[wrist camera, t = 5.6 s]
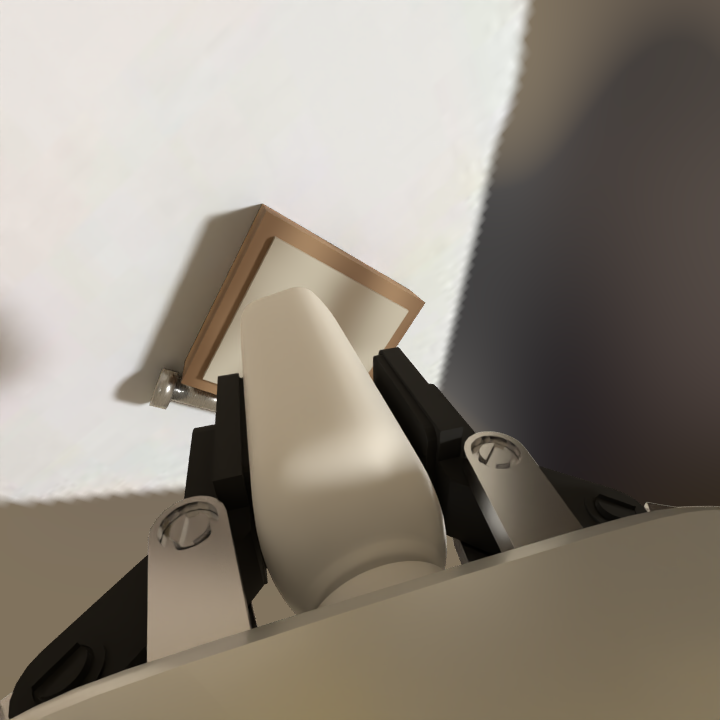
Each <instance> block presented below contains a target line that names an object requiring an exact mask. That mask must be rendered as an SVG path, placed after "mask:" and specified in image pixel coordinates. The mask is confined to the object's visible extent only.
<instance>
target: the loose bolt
mask: <svg viewBox="0 0 720 720" xmlns="http://www.w3.org/2000/svg"><path fill="white" fill-rule="evenodd" d="M178 375H179V373H178V372H174V371H171V370H167V369H164V368H163V369H162V371H161V374H160V376H159V379H158V381H157V384H156V387H155V389H154V392H153V395H152V398H151V402H150V406H153V407H158V408H162V409H166V408H167V407H168V405H169V402H170V400H172V401H176V402H180V403H184V404H187V405H191V406H195V407H199V408H203V409H207V410H211V411H215V412H216V399H217V395H216V394H212V393H209V392H206V391H203V390H200V389H197V388H194V387H191V386H188V385H185V384H182V383H181V380H182V379H180V378H178Z"/></svg>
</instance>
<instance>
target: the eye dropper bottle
mask: <svg viewBox="0 0 720 720" xmlns="http://www.w3.org/2000/svg"><path fill="white" fill-rule="evenodd" d="M240 335H241V352H242V368H243V383H244V398H245V412H246V426H247V440H248V454H249V466H250V478H251V491H252V502H253V509H254V517H255V524H256V530H257V535H258V539H259V543H260V547H261V551H262V554H263V557H264V560H265V563H266V566H267V569H268V571H269V573H270V575H271V577H272V580H273V582H274V583H275V585H276V587H277V589H278V590H279V592H280V594H281V595H282V597H283V599H284V600H285V601H286V603H287V604H288V605H289V607H290V608H291V609H292V610H293V612H294V613H295V614H296V615H298V614H302V613H305V612H308V611H311V610H315V609H318V608H321V607H324V606H327V605H331V604H334V603H337V602H340V601H344V600H347V599H350V598H353V597H357V596H360V595H363V594H367V593H370V592H373V591H376V590H380V589H383V588H386V587H390V586H393V585H396V584H399V583H403V582H406V581H409V580H413V579H416V578H419V577H422V576H426V575H429V574H432V573H436V572H439V571H442V570H445V565H446V555H447V539H446V530H445V523H444V518H443V514H442V510H441V506H440V503H439V500H438V497H437V494H436V492H435V489H434V487H433V485H432V482H431V480H430V478H429V476H428V474H427V472H426V470H425V469H424V467H423V465H422V463H421V461H420V459H419V458H418V456H417V454H416V453H415V451H414V449H413V447H412V446H411V444H410V442H409V441H408V439H407V437H406V436H405V434H404V432H403V431H402V429H401V427H400V426H399V424H398V422H397V420H396V419H395V417H394V415H393V414H392V412H391V410H390V409H389V407H388V405H387V404H386V402H385V400H384V399H383V397H382V395H381V394H380V392H379V390H378V389H377V387H376V385H375V384H374V382H373V380H372V379H371V377H370V375H369V374H368V372H367V370H366V369H365V367H364V365H363V364H362V362H361V360H360V359H359V357H358V355H357V354H356V352H355V351H354V349H353V347H352V346H351V344H350V342H349V341H348V339H347V337H346V336H345V334H344V332H343V331H342V329H341V327H340V326H339V324H338V322H337V321H336V319H335V318H334V316H333V315H332V313H331V312H330V311H329V309H328V308H327V307H326V306H325V304H324V303H323V302H322V301H321V300H320V299H319V298H318V297H317V296H316V295H315V294H314V293H313V292H312V291H311V290H309V289H307V288H305V287H293V288H290V289H286V290H283V291H280V292H277V293H275V294H272V295H269V296H266V297H263V298H260V299H258V300H255V301H253V302H251V303H250V304H249V305H247V306H246V307H245V308H244V311H243V313H242V315H241V324H240Z"/></svg>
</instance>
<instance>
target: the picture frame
mask: <svg viewBox="0 0 720 720" xmlns="http://www.w3.org/2000/svg"><path fill="white" fill-rule="evenodd" d="M293 287H305V288H307V289H309V290H311V291H312V292H313V293H314V294H315V295H316V296H317V297H318V298H319V299H320V300H321V301H322V302H323V303H324V304H325V306H326V307H327V308H328V309H329V311H330V312H331V313H332V315H333V316H334V318H335V319H336V321H337V322H338V324H339V326H340V327H341V329H342V331H343V332H344V334H345V336H346V337H347V339H348V341H349V342H350V344H351V346H352V347H353V349H354V351H355V352H356V354H357V355H358V357H359V359H360V360H361V362H362V364H363V365H364V367H365V369H366V370H367V372H368V374H369V375H370V377H371V379H372V380H373V356H375V355H378V353H379V350H382V349H389V348H395V347H396V346H397V345H398V343H399V342H400V340H401V339H402V337H403V336H404V334H405V333H406V331H407V330H408V328H409V327H410V325H411V324H412V322H413V321H414V319H415V318H416V316H417V315H418V313H419V312H420V310H421V309H422V307H423V306H424V304H425V302H424V301H422V300H421V299H420V298H419V297H418V296H416V295H415V294H414V293H413V292H411V291H410V290H409V289H407V288H406V287H404V286H402V285H401V284H399V283H397V282H395V281H394V280H392V279H390V278H389V277H387V276H385V275H384V274H382V273H380V272H378V271H377V270H375V269H373V268H372V267H370V266H368V265H366V264H365V263H363V262H361V261H360V260H358V259H356V258H355V257H353V256H351V255H349V254H348V253H346V252H344V251H343V250H341V249H339V248H337V247H336V246H334V245H332V244H331V243H329V242H327V241H326V240H324V239H322V238H320V237H319V236H317V235H315V234H314V233H312V232H310V231H308V230H307V229H305V228H303V227H302V226H300V225H298V224H297V223H295V222H293V221H291V220H290V219H288V218H286V217H285V216H283V215H281V214H279V213H278V212H276V211H274V210H273V209H271V208H269V207H268V206H266V205H264V204H262V205H261V207H260V209H259V211H258V214H257V216H256V218H255V220H254V222H253V224H252V226H251V228H250V230H249V232H248V234H247V236H246V238H245V240H244V242H243V244H242V246H241V248H240V250H239V252H238V254H237V256H236V258H235V260H234V262H233V264H232V266H231V269H230V271H229V273H228V275H227V277H226V279H225V281H224V283H223V285H222V287H221V289H220V291H219V293H218V295H217V297H216V299H215V301H214V303H213V305H212V307H211V309H210V311H209V313H208V315H207V317H206V319H205V321H204V324H203V326H202V328H201V330H200V332H199V334H198V336H197V338H196V340H195V342H194V344H193V346H192V348H191V350H190V352H189V354H188V356H187V358H186V360H185V364H184V369H183V375H182V380H181V383H182V384H185V385H188V386H191V387H194V388H197V389H200V390H203V391H206V392H209V393H212V394H216V395H217V379H218V376H222V375H228V374H234V373H239V376H240V378H242V377H243V368H242V352H241V335H240V324H241V315H242V313H243V311H244V308H245V307H246V306H247V305H249V304H250V303H251V302H253V301H255V300H258V299H260V298H263V297H266V296H269V295H272V294H275V293H277V292H280V291H283V290H286V289H290V288H293Z"/></svg>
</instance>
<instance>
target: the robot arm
mask: <svg viewBox="0 0 720 720" xmlns="http://www.w3.org/2000/svg"><path fill="white" fill-rule="evenodd" d="M373 382H374V384H375V385H376V387H377V389H378V390H379V392H380V394H381V395H382V397H383V399H384V400H385V402H386V404H387V405H388V407H389V409H390V410H391V412H392V414H393V415H394V417H395V419H396V420H397V422H398V424H399V426H400V427H401V429H402V431H403V432H404V434H405V436H406V437H407V439H408V441H409V442H410V444H411V446H412V447H413V449H414V451H415V453H416V454H417V456H418V458H419V459H420V461H421V463H422V465H423V467H424V469H425V470H426V472H427V474H428V476H429V478H430V480H431V482H432V485H433V487H434V489H435V492H436V494H437V497H438V500H439V503H440V506H441V510H442V514H443V518H444V523H445V530H446V535H448V536H450V537H453V542H454V546H455V549H456V552H457V554H458V557H459V560H460V562H461V565H459V566H455V567H452V568H449V569H446V570H442V571H439V572H436V573H432V574H429V575H426V576H422V577H419V578H416V579H413V580H409V581H406V582H403V583H399V584H396V585H393V586H390V587H386V588H383V589H380V590H376V591H373V592H370V593H367V594H363V595H360V596H357V597H353V598H350V599H347V600H344V601H340V602H337V603H334V604H331V605H327V606H324V607H321V608H318V609H315V610H311V611H308V612H305V613H302V614H298V615H295V616H292V617H289V618H286V619H282V620H279V621H276V622H273V623H269V624H266V625H263V626H260V627H257V623H256V618H255V613H254V610H253V604H252V600H253V599H254V597H255V596H256V595H257V593H258V592H259V591H260V590H261V588H262V587H263V586H264V584H267V583H268V582H267V571H266V568H267V566H266V563H265V560H264V557H263V554H262V551H261V547H260V543H259V539H258V535H257V530H256V524H255V517H254V509H253V502H252V491H251V478H250V466H249V454H248V440H247V426H246V412H245V398H244V383H243V377H242V378H240V376H239V373H234V374H228V375H222V376H218V379H217V399H216V419H215V424H214V425H209V426H204V427H198V428H194V429H193V433H192V440H191V448H190V456H189V464H188V472H187V480H186V488H185V497H184V499H183V500H181V501H179V502H177V503H175V504H173V505H172V506H170V507H169V508H167V509H166V510H164V511H163V512H162V514H160V516H159V517H158V518H157V519H156V520H155V522H154V524H153V525H152V527H151V529H150V533H149V538H148V555H147V556H146V557H145V558H144V559H143V560H142V561H140V562H139V563H138V564H137V565H136V566H135V567H134V568H133V569H132V570H130V571H129V572H128V573H127V574H126V575H125V576H124V577H123V578H122V579H121V580H119V581H118V582H117V583H116V584H115V585H114V586H113V587H112V588H111V589H110V590H109V591H107V592H106V593H105V594H104V595H103V596H102V597H101V598H100V599H99V600H98V601H97V602H95V603H94V604H93V605H92V606H91V607H90V608H89V609H88V610H87V611H86V612H84V613H83V614H82V615H81V616H80V617H79V618H78V619H77V620H76V621H74V622H73V623H72V624H71V625H70V626H69V627H68V628H67V629H66V630H65V631H64V632H62V633H61V634H60V635H59V636H58V637H57V638H56V639H55V640H54V641H52V643H50V644H49V645H48V646H47V647H46V648H45V649H44V650H43V651H42V652H41V653H40V654H39V655H38V656H37V657H36V658H35V659H34V660H33V661H32V662H31V663H30V664H29V666H28V667H27V668H26V670H25V671H24V673H23V674H22V676H21V677H20V679H19V680H18V682H17V683H16V686H15V688H14V691H13V692H12V693H11V694H9V695H8V696H7V697H5V698H4V699H2V700H1V701H0V720H720V507H717V506H695V507H672V506H667V505H661V504H655V503H648V502H646V504H645V507H643V506H642V505H641V504H640V503H639V502H637V501H636V500H635V499H633V498H632V497H630V496H628V495H627V494H625V493H622V492H620V491H617V490H615V489H612V488H609V487H605V486H602V485H599V484H596V483H592V482H589V481H586V480H583V479H580V478H576V477H573V476H570V475H567V474H563V473H560V472H557V471H553V470H550V469H547V468H544V467H540V466H538V465H537V464H536V462H535V461H534V459H533V458H532V457H531V455H530V454H529V453H528V451H527V450H526V448H525V447H524V446H523V445H522V444H521V443H520V442H519V441H517V440H516V439H514V438H512V437H510V436H508V435H505V434H503V433H497V432H480V433H475V432H474V431H473V430H472V428H471V427H470V426H469V425H468V424H467V423H466V421H465V420H464V419H463V418H462V416H461V415H460V414H459V413H458V412H457V411H456V409H455V408H454V407H453V406H452V405H451V403H450V402H449V401H448V400H447V399H446V397H445V396H444V395H443V394H442V393H441V391H440V390H439V389H438V388H437V387H436V386H435V385H434V384H428V383H427V381H426V380H425V379H424V378H423V376H422V375H421V374H420V373H419V372H418V370H417V369H416V368H415V367H414V365H413V364H412V363H411V362H410V361H409V359H408V358H407V357H406V356H405V354H404V353H403V352H402V351H401V349H400V348H398V347H395V348H389V349H382V350H379V353H378V355H375V356H373Z"/></svg>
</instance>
